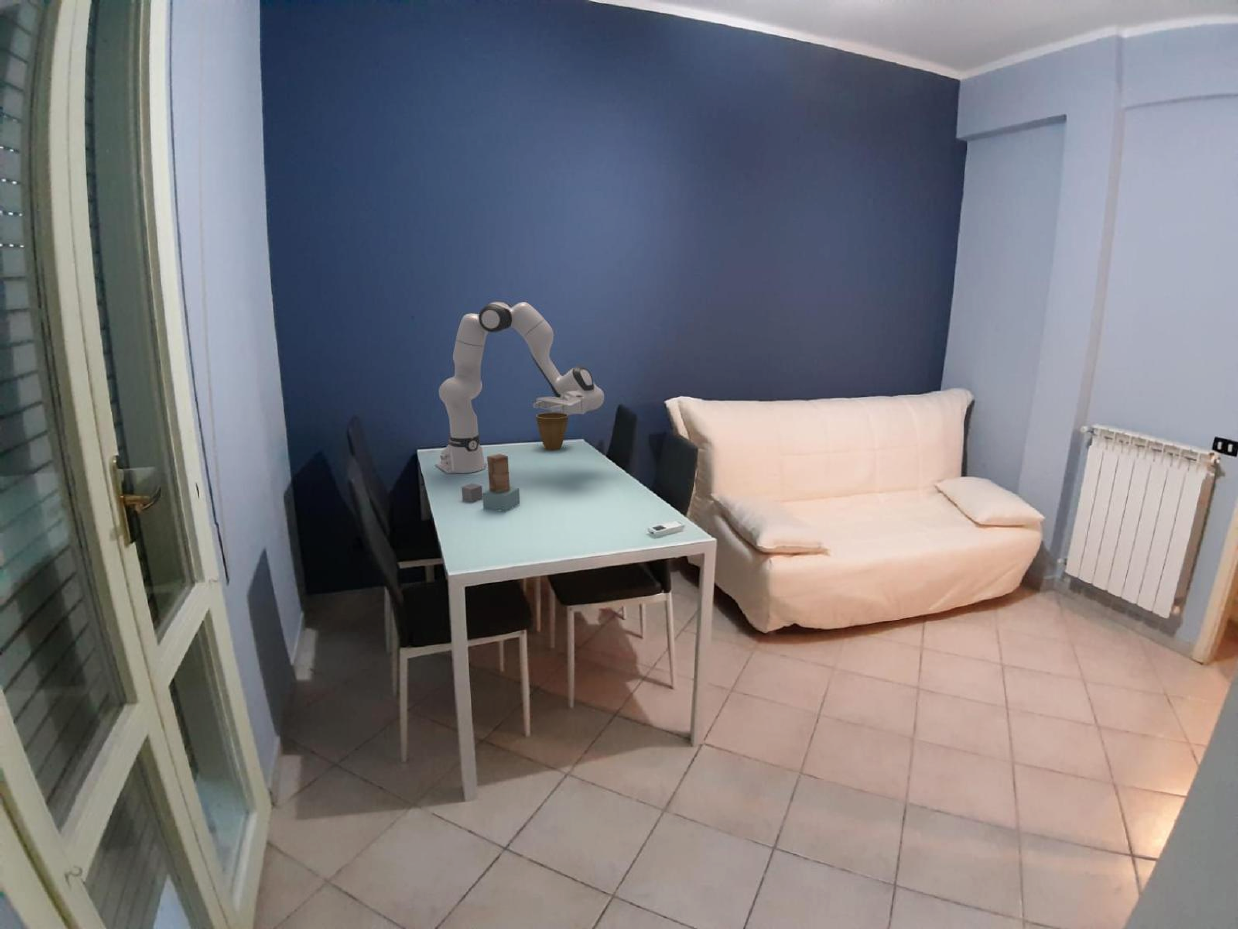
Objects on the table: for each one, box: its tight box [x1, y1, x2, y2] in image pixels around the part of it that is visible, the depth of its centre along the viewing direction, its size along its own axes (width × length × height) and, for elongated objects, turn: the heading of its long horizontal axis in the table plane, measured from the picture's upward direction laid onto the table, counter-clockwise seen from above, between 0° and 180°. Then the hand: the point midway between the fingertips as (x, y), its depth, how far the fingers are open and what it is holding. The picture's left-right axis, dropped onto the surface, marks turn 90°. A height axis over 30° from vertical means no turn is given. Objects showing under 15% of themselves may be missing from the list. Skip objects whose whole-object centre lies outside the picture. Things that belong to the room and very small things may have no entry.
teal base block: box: [482, 486, 521, 513], centre depth 211 cm, size 9×9×6 cm
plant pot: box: [535, 412, 569, 451], centre depth 286 cm, size 15×15×16 cm
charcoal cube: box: [461, 483, 483, 504], centre depth 218 cm, size 5×5×5 cm
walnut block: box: [486, 453, 511, 493], centre depth 208 cm, size 5×5×12 cm
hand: (542, 407), depth 227 cm, fingers open, 8 cm apart
